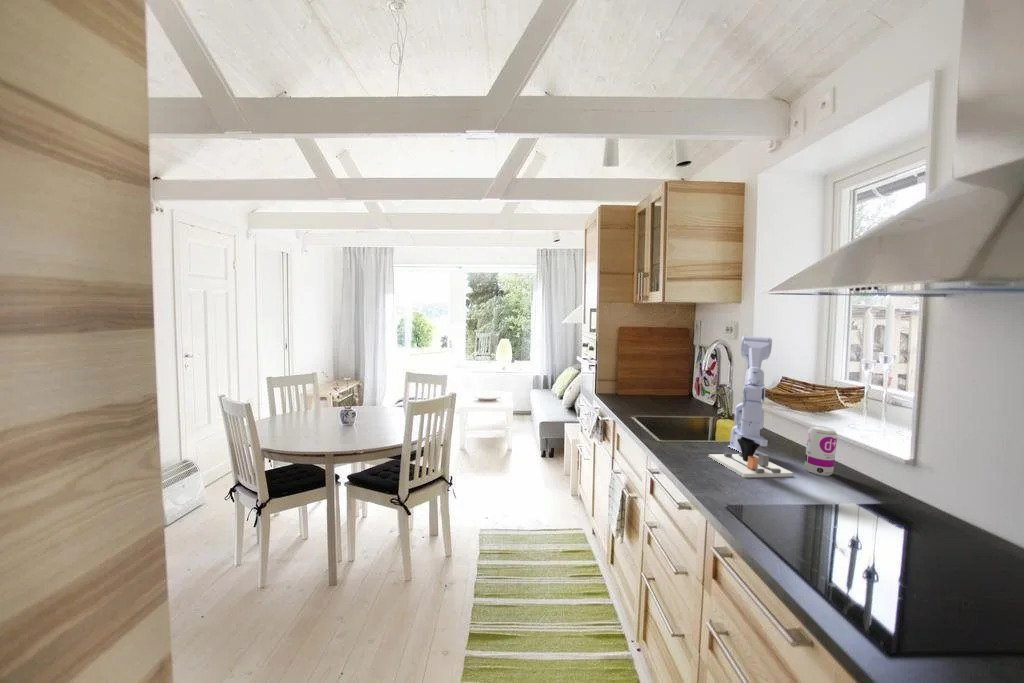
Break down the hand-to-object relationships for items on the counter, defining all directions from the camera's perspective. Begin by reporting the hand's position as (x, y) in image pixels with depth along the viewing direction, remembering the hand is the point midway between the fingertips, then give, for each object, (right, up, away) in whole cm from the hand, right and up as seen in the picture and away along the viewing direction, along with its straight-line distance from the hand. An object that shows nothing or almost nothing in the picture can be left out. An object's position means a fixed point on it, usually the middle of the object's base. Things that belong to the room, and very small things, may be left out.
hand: (747, 460), depth 157 cm
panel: (+2, -3, +3) cm, 5 cm away
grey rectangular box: (+6, -2, +1) cm, 6 cm away
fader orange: (0, -2, -3) cm, 3 cm away
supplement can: (+25, -4, +2) cm, 25 cm away
